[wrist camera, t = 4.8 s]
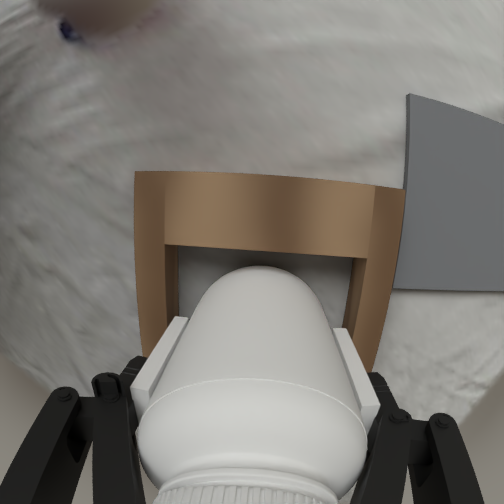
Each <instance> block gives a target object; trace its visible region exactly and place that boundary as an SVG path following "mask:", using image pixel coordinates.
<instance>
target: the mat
mask: <svg viewBox="0 0 504 504" xmlns="http://www.w3.org/2000/svg"><path fill="white" fill-rule="evenodd" d="M406 96H407V130H406V158H405V174H404V187H403V190H406V192H405V203H404V212H403V221H402V229H401V236H400V243H399V250H398V256H397V262H396V268H395V274H394V279H393V285H392V288H402V289H430V290H467V291H504V125H503V124H501V123H499V122H496V121H494V120H491V119H489V118H486V117H484V116H481V115H478V114H475V113H473V112H470V111H467V110H464V109H461V108H458V107H455V106H452V105H449V104H446V103H443V102H439V101H436V100H433V99H429V98H425V97H422V96H418V95H414V94H410V93H409V94H408V95H406Z"/></svg>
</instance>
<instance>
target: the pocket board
mask: <svg viewBox="0 0 504 504" xmlns="http://www.w3.org/2000/svg"><path fill="white" fill-rule="evenodd" d="M405 192H406V190H403V189H396V188H389V187H382V186H375V185H367V184H359V183H351V182H342V181H332V180H323V179H312V178H301V177H289V176H275V175H260V174H243V173H220V172H183V171H135V181H134V247H135V272H136V289H137V303H138V315H139V326H140V336H141V345H142V353H143V357H148V358H149V356H150V354H151V353H152V351H153V350H154V348H155V347H156V345H157V343H158V342H159V340H160V339H161V337H162V336H163V334H164V333H165V331H166V329H167V328H168V326H169V325H170V323H171V322H172V320H173V319H174V317H175V316H178V317H179V303H178V245H184V246H199V247H213V248H228V249H242V250H257V251H271V252H285V253H300V254H314V255H328V256H342V257H354V258H353V265H352V272H351V278H350V285H349V291H348V297H347V303H346V309H345V314H344V320H343V325H342V328H346V329H347V331H348V333H349V335H350V338H351V340H352V342H353V344H354V346H355V348H356V351H357V353H358V355H359V357H360V359H361V362H362V364H363V366H364V368H365V371H366V373H369V372H371V371H372V368H373V365H374V361H375V357H376V354H377V350H378V346H379V342H380V339H381V335H382V330H383V326H384V322H385V318H386V313H387V309H388V304H389V300H390V295H391V290H392V285H393V279H394V274H395V268H396V262H397V256H398V250H399V243H400V236H401V229H402V221H403V212H404V203H405Z"/></svg>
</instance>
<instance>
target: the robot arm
mask: <svg viewBox="0 0 504 504" xmlns="http://www.w3.org/2000/svg"><path fill="white" fill-rule="evenodd" d="M187 325H188V318H187V317H178V316H175V317H174V319H173V320H172V322H171V323H170V325H169V326H168V328H167V329H166V331H165V333H164V334H163V336H162V337H161V339H160V340H159V342H158V343H157V345H156V347H155V348H154V350H153V351H152V353H151V354H150V356H149V358H148V357H142V356H137V357H135V358H133V359H132V360H130V361H129V363H128V364H127V366H126V368H124V370H123V371H122V373H121V374H120V375H118V374H115V373H109V372H107V373H101V374H99V375H96V376H95V377H94V378H93V379H92V382H91V383H92V387H93V391H94V394H95V397H79V395H78V392H77V391H76V390H75V389H74V388H71V387H60V388H57V389H55V390H54V391H53V392H52V393H51V395H50V396H49V398H48V399H47V401H46V403H45V405H44V406H43V408H42V409H41V411H40V413H39V414H38V416H37V418H36V420H35V422H34V423H33V425H32V427H31V428H30V430H29V432H28V434H27V435H26V437H25V439H24V441H23V443H22V444H21V446H20V448H19V450H18V452H17V454H16V456H15V458H14V459H13V461H12V463H11V465H10V467H9V469H8V471H7V473H6V475H5V477H4V479H3V481H2V484H1V485H0V504H71V503H72V500H73V497H74V494H75V491H76V487H77V484H78V481H79V478H80V475H81V472H82V469H83V466H84V463H85V460H86V457H87V454H88V452H89V449H90V446H91V443H92V441H93V461H92V464H93V466H92V467H93V468H92V471H93V504H146V502H145V496H144V490H143V484H142V478H141V471H140V465H139V457H138V449H137V440H136V435H135V431H136V429H137V427H139V424H140V421H141V418H142V416H143V413H144V411H145V409H146V407H147V405H148V402H149V400H150V398H151V396H152V394H153V392H154V390H155V388H156V386H157V384H158V382H159V380H160V378H161V376H162V374H163V372H164V370H165V368H166V366H167V364H168V362H169V360H170V358H171V356H172V354H173V352H174V350H175V348H176V346H177V344H178V342H179V340H180V338H181V336H182V334H183V332H184V330H185V329H186V327H187ZM332 334H333V337H334V340H335V342H336V345H337V348H338V351H339V353H340V356H341V359H342V362H343V364H344V367H345V370H346V373H347V376H348V378H349V381H350V384H351V387H352V390H353V393H354V396H355V399H356V401H357V404H358V407H359V410H360V413H361V416H362V419H363V423H364V426H365V430H366V435H367V447H368V450H367V452H366V459H365V463H364V467H363V470H362V472H361V474H360V476H359V478H358V481H357V484H356V487H355V490H354V493H353V496H352V499H351V502H350V504H401V503H402V497H403V492H404V486H405V480H406V473H407V466H408V469H409V475H410V480H411V487H412V494H413V501H414V504H484V501H483V497H482V494H481V491H480V487H479V484H478V481H477V478H476V475H475V472H474V469H473V466H472V463H471V461H470V458H469V455H468V452H467V450H466V447H465V444H464V442H463V439H462V436H461V434H460V431H459V429H458V426H457V424H456V421H455V420H454V419H453V418H452V417H451V416H450V415H447V414H445V413H436V414H433V415H432V416H431V417H430V419H429V421H422V420H414V419H412V418H411V415H410V414H409V413H408V412H406V411H405V410H403V409H399V407H398V405H397V403H396V401H395V399H394V397H393V395H392V393H391V391H390V389H389V387H388V386H387V383H386V381H385V379H384V378H383V377H382V376H381V375H380V374H379V373H378V372H369V373H366V371H365V368H364V366H363V364H362V362H361V359H360V357H359V355H358V353H357V351H356V348H355V346H354V344H353V342H352V340H351V338H350V335H349V333H348V331H347V329H346V328H333V331H332Z"/></svg>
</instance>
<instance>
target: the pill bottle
mask: <svg viewBox="0 0 504 504" xmlns="http://www.w3.org/2000/svg"><path fill="white" fill-rule="evenodd" d="M366 452H367V435H366V430H365V426H364V423H363V419H362V416H361V413H360V410H359V407H358V404H357V401H356V399H355V396H354V393H353V390H352V387H351V384H350V381H349V378H348V376H347V373H346V370H345V367H344V364H343V362H342V359H341V356H340V353H339V351H338V348H337V345H336V342H335V340H334V337H333V334H332V332H331V329H330V326H329V324H328V321H327V318H326V316H325V313H324V311H323V308H322V306H321V303H320V301H319V300H318V298H317V296H316V295H315V294H314V292H313V291H312V290H311V288H310V287H309V286H308V285H307V284H306V283H305V282H304V281H302V280H301V279H300V278H298V277H297V276H295V275H294V274H292V273H290V272H288V271H285V270H282V269H279V268H275V267H270V266H249V267H243V268H240V269H237V270H234V271H231V272H229V273H227V274H225V275H224V276H222V277H221V278H219V279H218V280H217V281H216V282H214V283H213V284H212V285H211V286H210V287H209V289H208V290H207V291H206V292H205V293H204V295H203V296H202V298H201V299H200V301H199V303H198V305H197V307H196V309H195V311H194V313H193V315H192V317H191V319H190V321H189V323H188V325H187V327H186V329H185V330H184V332H183V334H182V336H181V338H180V340H179V342H178V344H177V346H176V348H175V350H174V352H173V354H172V356H171V358H170V360H169V362H168V364H167V366H166V368H165V370H164V372H163V374H162V376H161V378H160V380H159V382H158V384H157V386H156V388H155V390H154V392H153V394H152V396H151V398H150V400H149V402H148V405H147V407H146V409H145V411H144V413H143V416H142V418H141V421H140V424H139V428H138V453H139V458H140V461H141V464H142V467H143V469H144V471H145V473H146V474H147V476H148V478H149V479H150V480H151V482H152V483H153V484H154V485H155V486H156V488H157V489H158V490H159V493H158V496H157V497H156V498H155V500H154V501H153V503H152V504H338V500H339V499H341V498H342V497H343V496H344V495H345V494H346V493H347V492H348V491H349V490H350V489H351V488H352V487H353V485H354V484H355V483H356V481H357V480H358V478H359V476H360V474H361V472H362V470H363V467H364V463H365V459H366Z"/></svg>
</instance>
